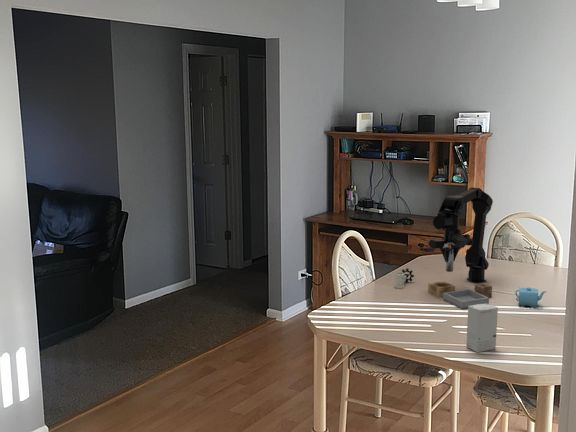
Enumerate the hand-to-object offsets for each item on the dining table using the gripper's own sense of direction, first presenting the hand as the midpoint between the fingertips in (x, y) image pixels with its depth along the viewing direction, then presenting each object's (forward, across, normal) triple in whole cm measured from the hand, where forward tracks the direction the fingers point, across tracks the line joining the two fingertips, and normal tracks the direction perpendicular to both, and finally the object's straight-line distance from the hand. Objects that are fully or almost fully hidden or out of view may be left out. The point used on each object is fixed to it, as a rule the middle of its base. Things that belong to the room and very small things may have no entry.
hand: (449, 261), depth 274 cm
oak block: (+14, -4, 0) cm, 14 cm away
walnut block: (+14, +10, -10) cm, 20 cm away
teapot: (+14, +20, -28) cm, 37 cm away
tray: (+14, -1, -14) cm, 20 cm away
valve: (+14, -12, +17) cm, 25 cm away
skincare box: (+15, -26, -55) cm, 63 cm away
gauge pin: (+4, 0, 0) cm, 4 cm away
